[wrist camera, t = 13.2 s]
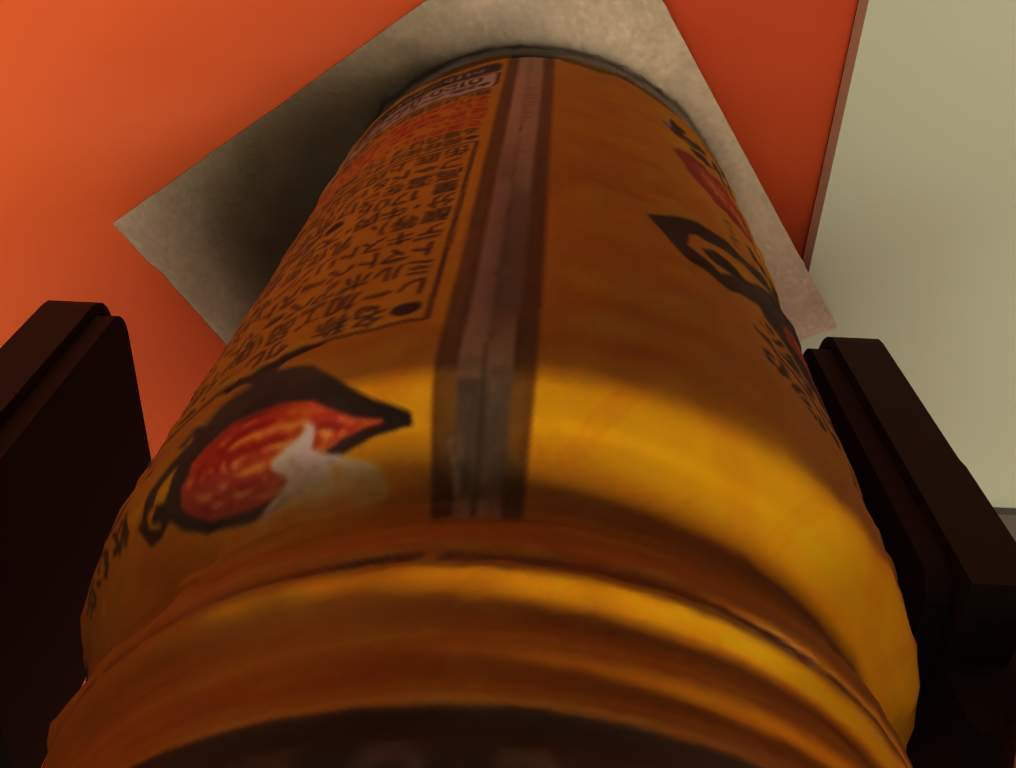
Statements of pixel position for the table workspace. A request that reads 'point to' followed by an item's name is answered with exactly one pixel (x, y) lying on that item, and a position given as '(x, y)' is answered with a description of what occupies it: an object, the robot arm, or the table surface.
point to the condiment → (493, 436)
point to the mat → (929, 215)
